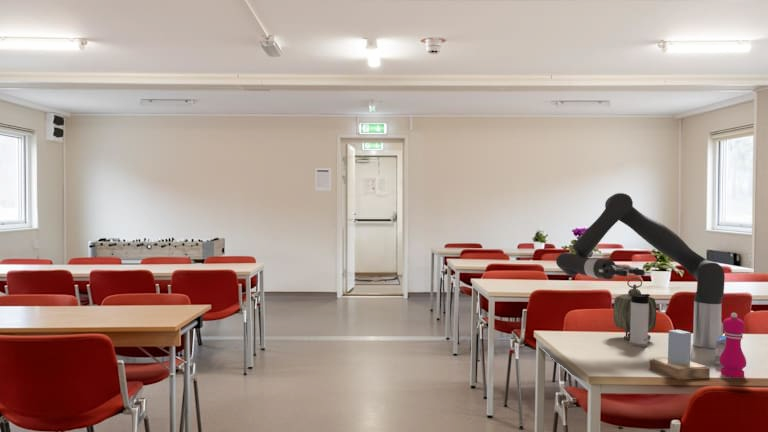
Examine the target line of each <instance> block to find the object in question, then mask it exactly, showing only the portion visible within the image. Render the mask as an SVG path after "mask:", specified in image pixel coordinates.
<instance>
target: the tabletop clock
mask: <svg viewBox="0 0 768 432" xmlns="http://www.w3.org/2000/svg"><path fill="white" fill-rule="evenodd" d="M633 280H638V281H639V282H640V284H639V285H636V284H633V286H632V285H630V282H631V281H633ZM642 285H643V281H642V279H641V278H640V277H631V278H629V279H628V280H627V286H628V287H629V288H631V289H629V290H628V292H627V293H625V294H619V295H617V296H615V298H614V301H613V311H612V313H613V314H612V315H613V323H614V325H615V327H616V328H619V329H622V330H624V332H625V335H624V336H623V340H625V341H627V340H629V338H630V323H631V300H632V299H631V296H632V295H636V294H642V292H641V290H640V289H639V288H640V287H642ZM656 322H657V303H656V300H655V298H653V297H651V296H649V313H648V332H651V331H653V330H654V329H655V326H656ZM651 339H652V337H651V335H650V334H648V340H651Z"/></svg>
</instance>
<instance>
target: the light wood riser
mask: <svg viewBox="0 0 768 432" xmlns="http://www.w3.org/2000/svg"><path fill="white" fill-rule="evenodd" d="M649 370H652V371H654V372H657V373H660V374H662V375H664V376H666V375H667V377H669V376H670V377H669V378H672V379H674V380H677V381H681V380H697V379H710V373H711V370H710V367H708V366H706V365H703V364H700V363H697V362H695V361H692V360H690V364H685V365H678V364H675V363H671V362H668V357H666V358H665V357H662V358H652V359H649Z"/></svg>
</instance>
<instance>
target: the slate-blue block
mask: <svg viewBox="0 0 768 432" xmlns="http://www.w3.org/2000/svg"><path fill="white" fill-rule="evenodd" d="M667 339H668V345H667V347H668V348H667V358H668V362H671V363H675V364H678V365H685V364H690V361H691V349H692V348H691V346H692V345H691V342H692V341H691V340H692V332H690V331H685V330H682V329H671V330H668V338H667Z"/></svg>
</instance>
